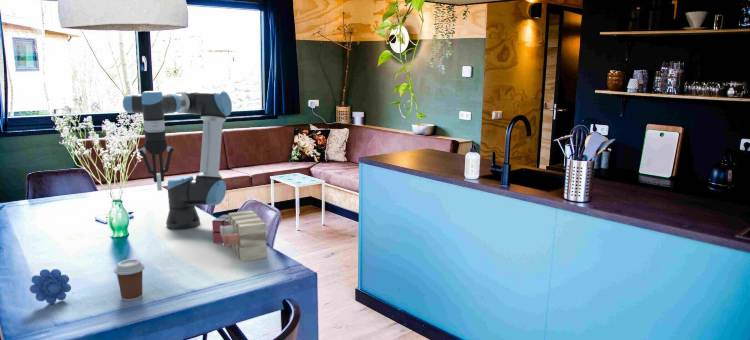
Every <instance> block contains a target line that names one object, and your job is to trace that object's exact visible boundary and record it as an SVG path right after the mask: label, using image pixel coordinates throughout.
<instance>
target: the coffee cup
mask: <svg viewBox="0 0 750 340" xmlns="http://www.w3.org/2000/svg"><path fill="white" fill-rule="evenodd" d="M116 265H117V266H116V267H115V268H114V269H113V271H114V272H113V273H114V274H115V275H116V276H117V280H118V286H119V291H120V296H121V297H120V298H121V300H122V301H125V302H132V301H136V300H139V299H141V298H142V297H143V271H144V269H145V265H144V264H143V263H142V262H141V260H140V259H135V258H129V259H125V260H122V261H119V262H118V263H117V264H116Z"/></svg>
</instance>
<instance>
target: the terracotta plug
mask: <svg viewBox="0 0 750 340" xmlns="http://www.w3.org/2000/svg"><path fill="white" fill-rule="evenodd" d="M237 243H239V233H235V234H228V235H226V234H223V243H222V245H223V246H224V247H227V246H229V245H230V244H237ZM230 246H231V245H230Z"/></svg>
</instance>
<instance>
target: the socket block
mask: <svg viewBox="0 0 750 340" xmlns="http://www.w3.org/2000/svg"><path fill="white" fill-rule="evenodd" d="M227 215H229V225H232V226H233V234H235V233H239V243H237V244H230V247H231V249H232V250H233V251H234V253H235V254H236V255H237V257H238V259H240V261H241V262H249V261H252V260H258V259H259V260H260V259H266V258H267V257H268V255H267V254H268V252H267V248H268V247H267V229H266V225H267V224H266V222H264V221H263V220H262V219H261V217H260V216H259V215H257V214H256V213H255V212H254V211H253V210H245V211H237V212H236V211H235V212H228V214H227Z"/></svg>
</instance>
